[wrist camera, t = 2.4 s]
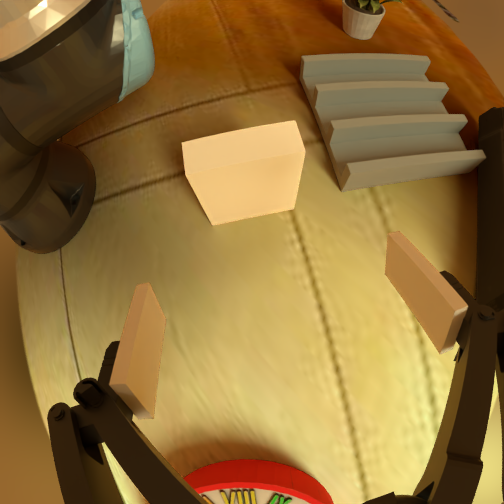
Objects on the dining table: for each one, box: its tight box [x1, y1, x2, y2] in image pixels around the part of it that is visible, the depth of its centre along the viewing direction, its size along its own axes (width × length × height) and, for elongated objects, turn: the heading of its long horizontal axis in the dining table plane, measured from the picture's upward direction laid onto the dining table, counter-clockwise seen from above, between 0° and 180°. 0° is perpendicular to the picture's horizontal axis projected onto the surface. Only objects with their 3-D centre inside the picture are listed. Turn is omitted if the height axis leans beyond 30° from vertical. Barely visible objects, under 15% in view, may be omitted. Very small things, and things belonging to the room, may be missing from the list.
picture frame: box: [182, 120, 306, 226], centre depth 28 cm, size 3×9×12 cm, turn 101°
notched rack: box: [299, 53, 486, 192], centre depth 34 cm, size 18×20×4 cm
